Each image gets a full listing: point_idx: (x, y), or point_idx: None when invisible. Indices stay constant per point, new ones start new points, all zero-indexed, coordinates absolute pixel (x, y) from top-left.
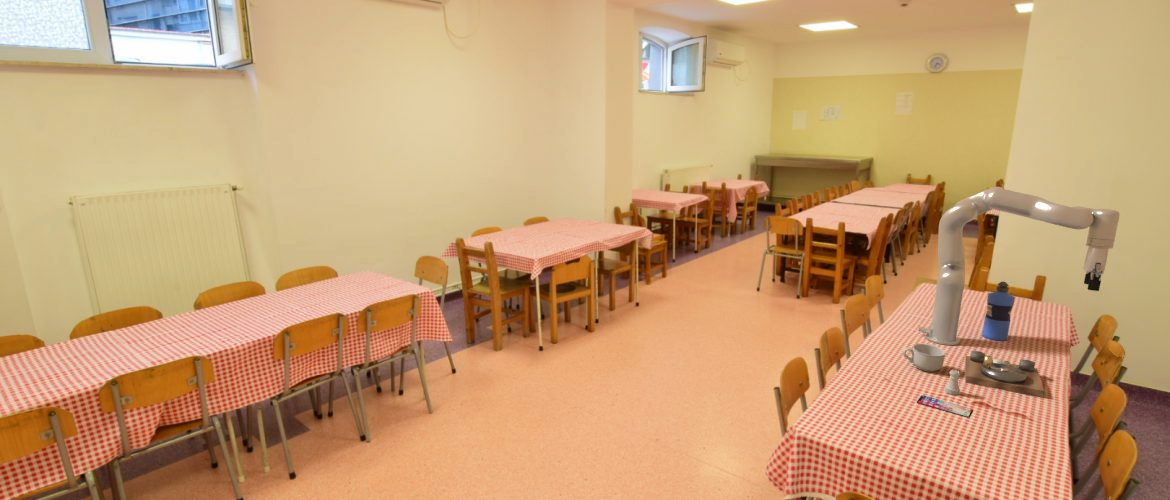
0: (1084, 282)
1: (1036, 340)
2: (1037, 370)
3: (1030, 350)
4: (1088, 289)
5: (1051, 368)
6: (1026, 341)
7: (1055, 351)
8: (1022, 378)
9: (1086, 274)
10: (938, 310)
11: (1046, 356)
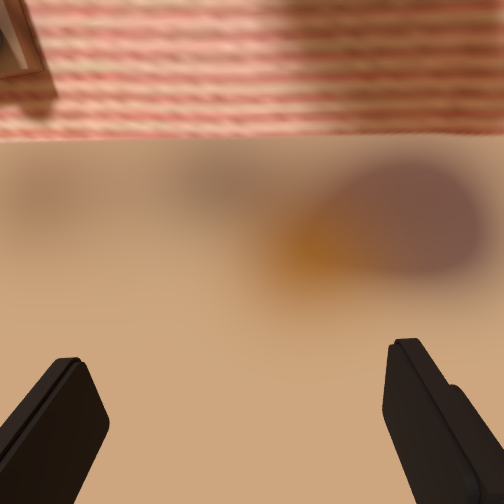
0: (404, 350)
1: (466, 48)
2: (6, 71)
3: (310, 34)
4: (61, 363)
5: (151, 113)
6: (431, 9)
7: (353, 119)
8: None
9: (476, 486)
10: None
11: (272, 93)
